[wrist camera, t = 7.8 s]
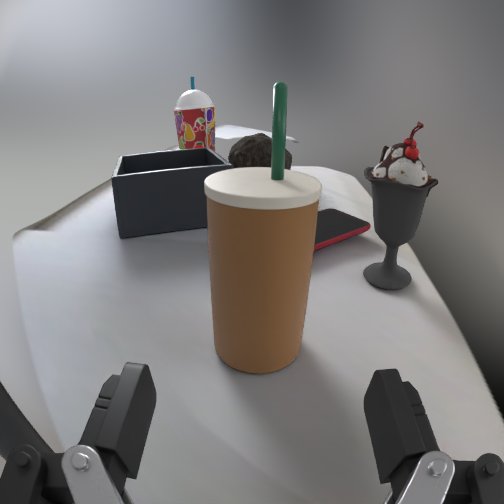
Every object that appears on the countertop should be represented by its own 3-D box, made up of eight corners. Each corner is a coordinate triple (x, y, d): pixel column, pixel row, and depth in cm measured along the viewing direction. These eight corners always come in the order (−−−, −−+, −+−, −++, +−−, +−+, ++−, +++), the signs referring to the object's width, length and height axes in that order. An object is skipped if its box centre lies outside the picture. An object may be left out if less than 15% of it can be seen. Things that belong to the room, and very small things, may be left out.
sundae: (411, 303, 26) (438, 126, 19) (344, 282, 29) (354, 115, 23) (425, 270, 30) (445, 124, 23) (368, 254, 34) (378, 114, 27)
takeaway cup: (226, 384, 19) (218, 75, 11) (204, 323, 24) (194, 83, 16) (317, 361, 20) (353, 86, 13) (281, 308, 26) (294, 85, 18)
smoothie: (227, 168, 66) (221, 74, 57) (198, 178, 60) (190, 74, 51) (200, 165, 71) (193, 79, 62) (171, 174, 65) (162, 80, 56)
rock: (297, 172, 60) (290, 122, 55) (287, 197, 52) (278, 138, 46) (248, 176, 64) (238, 128, 58) (229, 200, 55) (216, 145, 50)
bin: (119, 238, 37) (111, 177, 33) (124, 202, 49) (119, 156, 45) (232, 224, 41) (232, 164, 37) (209, 192, 53) (208, 147, 49)
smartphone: (233, 235, 36) (331, 207, 43) (234, 243, 36) (331, 213, 43) (272, 261, 30) (373, 224, 37) (272, 269, 31) (372, 231, 37)
